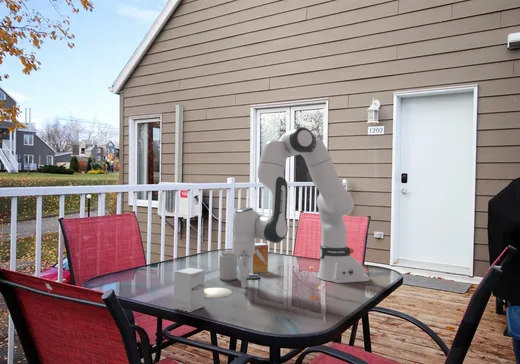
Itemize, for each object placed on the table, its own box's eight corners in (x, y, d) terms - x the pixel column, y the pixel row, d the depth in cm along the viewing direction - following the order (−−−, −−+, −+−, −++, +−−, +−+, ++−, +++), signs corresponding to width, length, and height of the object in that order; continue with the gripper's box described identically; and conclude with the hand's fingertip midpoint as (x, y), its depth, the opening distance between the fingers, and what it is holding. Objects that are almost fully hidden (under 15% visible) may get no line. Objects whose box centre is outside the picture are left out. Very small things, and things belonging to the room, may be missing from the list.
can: (234, 281, 164) (234, 253, 164) (217, 280, 165) (217, 252, 165) (238, 277, 171) (238, 250, 171) (222, 276, 172) (222, 249, 172)
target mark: (231, 287, 154) (231, 287, 154) (232, 297, 141) (232, 297, 141) (199, 288, 153) (199, 287, 153) (196, 298, 140) (196, 297, 140)
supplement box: (189, 313, 124) (190, 274, 124) (173, 308, 128) (173, 271, 128) (204, 307, 130) (205, 269, 130) (188, 303, 134) (188, 266, 134)
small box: (252, 273, 178) (253, 245, 178) (247, 270, 184) (247, 243, 184) (268, 271, 182) (268, 244, 182) (262, 269, 188) (262, 242, 188)
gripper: (253, 253, 142) (252, 291, 142) (250, 244, 162) (249, 277, 162) (236, 253, 142) (235, 291, 142) (235, 244, 162) (234, 277, 162)
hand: (243, 283), depth 152 cm, fingers open, 8 cm apart
